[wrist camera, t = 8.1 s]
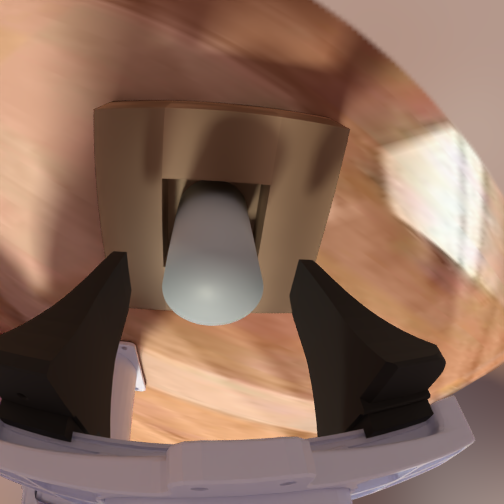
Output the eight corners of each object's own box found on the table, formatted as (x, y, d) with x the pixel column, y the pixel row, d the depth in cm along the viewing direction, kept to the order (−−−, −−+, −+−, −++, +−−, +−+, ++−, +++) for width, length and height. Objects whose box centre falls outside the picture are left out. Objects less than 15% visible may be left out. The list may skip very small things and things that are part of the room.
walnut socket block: (123, 277, 20) (114, 306, 18) (113, 101, 14) (93, 109, 11) (289, 283, 22) (299, 313, 20) (329, 117, 16) (350, 129, 13)
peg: (181, 242, 19) (171, 327, 13) (174, 181, 16) (153, 251, 11) (246, 238, 19) (262, 322, 13) (246, 177, 17) (264, 245, 11)
